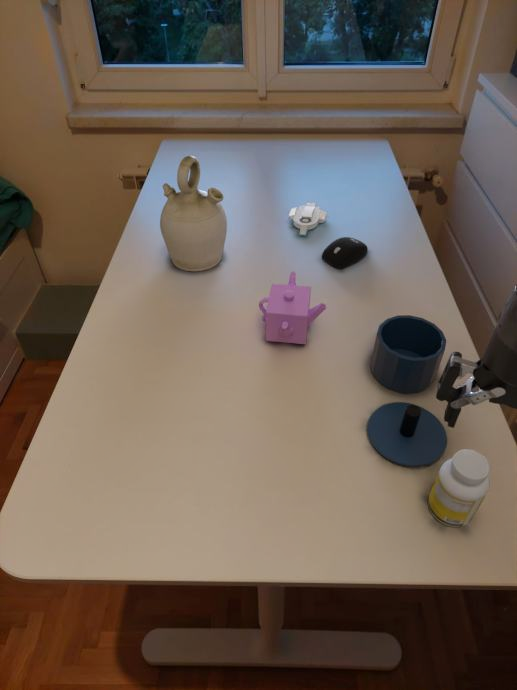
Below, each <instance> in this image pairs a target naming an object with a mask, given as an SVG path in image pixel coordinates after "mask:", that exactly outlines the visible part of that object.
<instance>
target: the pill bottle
mask: <svg viewBox="0 0 517 690" xmlns="http://www.w3.org/2000/svg"><path fill="white" fill-rule="evenodd" d="M490 471H491V466H490V463H489V461H488V459H487V458H486V457H485V456H484V455H483V454H482V453H480V452H478V451H477V450H474V449H468V448H464V449H460V450H458V451H456V452H455V453H454V455H453V457H451V458H449V459H447V460H445V461H444V463H442V465H441V467H440V469H439V470H438V473H437V476H436V478H435V479H434V482H433V485H432V487H431V489H430V492H429V495H428V498H427V506H428V509H429V511H430V513H431V515H432V516H433V517H434V518H435V519H436V520H437V521H439V523H441V524H443V525H445V526H448V527H452V528H461V527H463V526H466V525H468V524H469V523H470V522H471V521H472V520H473V518H474V517H475V515H476V514H477V512H478V510H479V508H480V506H481V505H482V503H483V501H484V499H485V497H486V496H487V494H488V492H489V489H490V483H491V481H490V477H489V474H490Z"/></svg>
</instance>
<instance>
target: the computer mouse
mask: <svg viewBox="0 0 517 690" xmlns="http://www.w3.org/2000/svg"><path fill="white" fill-rule="evenodd" d="M368 249H369V247H368V246H367V245H366V244H365V243H364V242H362V241H361V240H359V239H356V238H354V237H349V236H343V237H339V238H337V239H335V240H333V241H332V242H331V243H329V245H327V246H326V247H325V248H324V250H323V252H322V253H321V259H322V260H323V261H324V262H326V263H327V264H328V265H330V266H332V267H334V268H336V269H339V270H341V269H345V268H347V267H349V266H351V265H353V264H355V263H357V262H358V261H360V260H362V259H363V258H364V257H365V256H366V255H367V254H368V252H369V251H368Z"/></svg>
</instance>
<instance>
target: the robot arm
mask: <svg viewBox="0 0 517 690" xmlns="http://www.w3.org/2000/svg"><path fill="white" fill-rule="evenodd" d="M467 374H472V376H471V377H469V378H468V379H467V380H466V381H465V382H463V383H461V384H459V385H457V386H454V384H455V383H456V381H457V380H462V378H464V377H465V376H466V375H467ZM435 398H436V400H438V401H440V402H445V401H446V402H447V403H446V407H445V408H444V415H443V421H444V422H445V423H447V427H448V428H452V429H453V428H455V425H456V423H457V421H458V418H459V416H460V414H461V411H462V408H464V407H466V406H469V405H472V406H475V405H478V404H481V403H483V402H486V401H488V402H489V403H492V404H496V405H504V406H507V407H509V408H512V409H515V410H517V283H516V284H515V287H514V289H513V290H512V292H511V293H510V295H509V297H508V298H507V299H506V302H505V304H504V306H503V308H502V309H501V311H500V312H499V315H498V317H497V322H496V325H495V327H494V329H493V332H492V334H491V336H490V340H489V341H488V343H487V346H486V349H485V351H484V353H483V354H482V356H481V358H480V359H478V360H476V361H472V360H468V359H465V358H463V354H462V353H461V352H460V351H453V352H451V353H450V356H449V357H448V360H447V362H446V364H445V366H444V369H443V371H442V373H441V375H440V377H439V379H438V382H437V388H436V394H435Z"/></svg>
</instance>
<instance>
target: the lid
mask: <svg viewBox="0 0 517 690" xmlns="http://www.w3.org/2000/svg"><path fill="white" fill-rule="evenodd" d="M366 426H367V427H366V432H367V436H368V437H367V438H368V439H369V442H370V443H371V445H372V446H373V448H374V450H375V451H377V452H378V453H379V455H381V456H382V457H384V458H385V459H387V460H388V461H390V462H392V463H393V464H394V463H395V464H397V465H401V466H405V467H411V468H417V467H425V466H428V465H431V464H434V463H435V462H436V461H438V460H440V458H441V457H442V456H443V454H444V453H445V452H446V448H447V444H448V435H447V431H446V429H445V427H444V425H443V423H442V422H441V421H440V420H439V418H438V417H437V416H436V415H435V414H434V413H432V412H431V411H429V410H428V409H426V408H424V407H422V406H420V405H418V404H414V403H412V402H411V403H410V402H406V401H405V402H404V401H394V402H389V403H385V404H383V405H380V406H379V407H377V408H376V409H374V411H373V412H372V413H371V414H370V415H369V418H368V421H367V425H366Z"/></svg>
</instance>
